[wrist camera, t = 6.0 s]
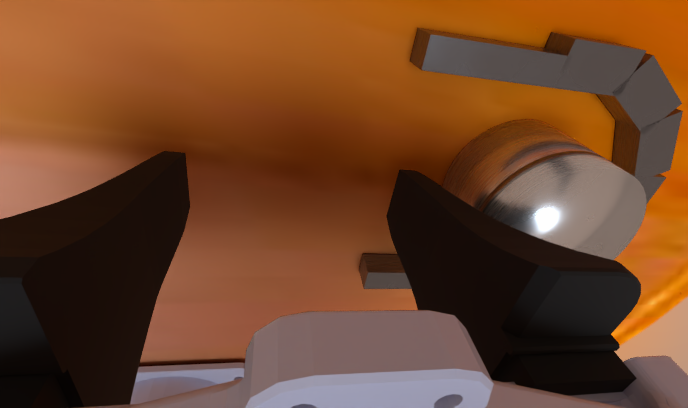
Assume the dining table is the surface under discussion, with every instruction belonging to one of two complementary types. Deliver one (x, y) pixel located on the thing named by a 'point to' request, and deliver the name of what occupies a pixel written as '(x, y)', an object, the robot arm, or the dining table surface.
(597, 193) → the cylinder
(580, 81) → the u-shaped bracket
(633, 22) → the dining table surface
